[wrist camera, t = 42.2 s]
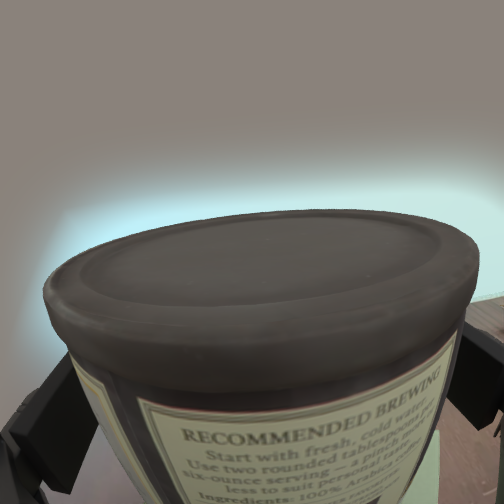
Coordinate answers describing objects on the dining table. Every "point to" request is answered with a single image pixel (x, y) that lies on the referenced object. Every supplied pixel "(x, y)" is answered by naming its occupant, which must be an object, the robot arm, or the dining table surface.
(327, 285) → the coffee can
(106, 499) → the dining table surface
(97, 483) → the dining table surface
